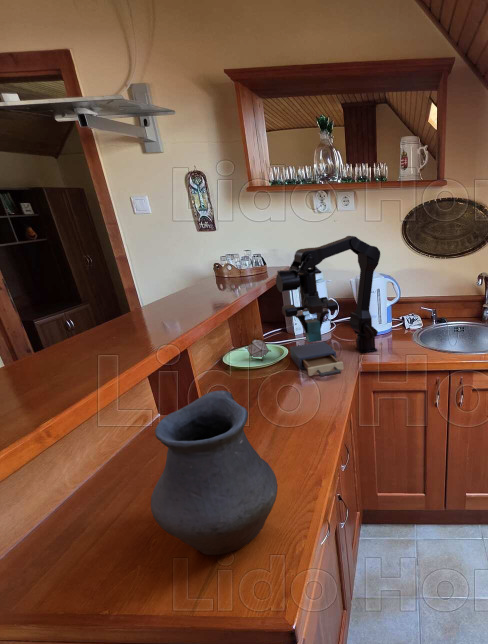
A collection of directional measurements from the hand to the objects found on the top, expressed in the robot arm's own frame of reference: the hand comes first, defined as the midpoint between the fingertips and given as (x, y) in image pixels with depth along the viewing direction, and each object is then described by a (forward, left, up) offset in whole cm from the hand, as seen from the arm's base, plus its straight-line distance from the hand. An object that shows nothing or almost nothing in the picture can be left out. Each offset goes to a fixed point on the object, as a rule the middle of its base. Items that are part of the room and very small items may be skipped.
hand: (312, 331), depth 150 cm
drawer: (0, +9, -11) cm, 14 cm away
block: (0, 0, -3) cm, 3 cm away
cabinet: (0, -3, -12) cm, 12 cm away
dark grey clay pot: (+39, +75, -12) cm, 86 cm away
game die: (+18, -14, -12) cm, 26 cm away
